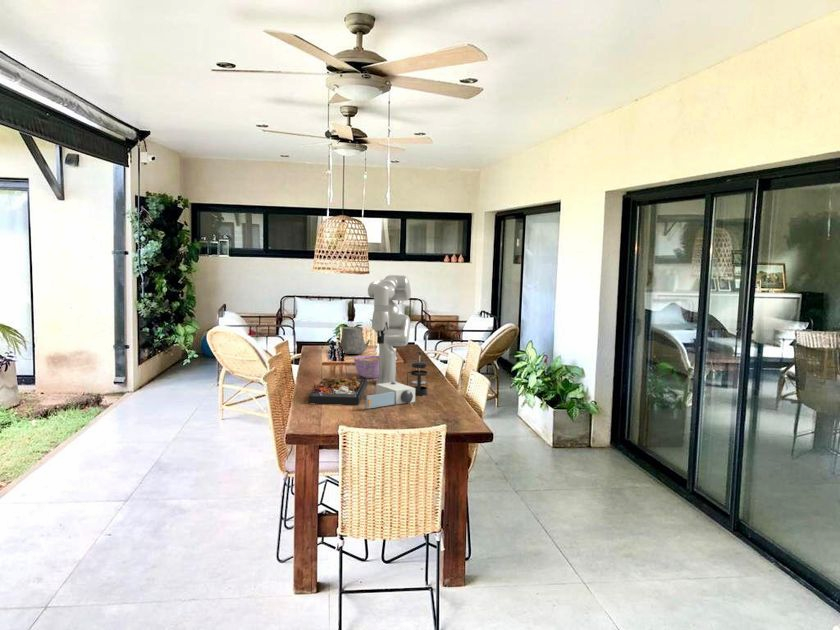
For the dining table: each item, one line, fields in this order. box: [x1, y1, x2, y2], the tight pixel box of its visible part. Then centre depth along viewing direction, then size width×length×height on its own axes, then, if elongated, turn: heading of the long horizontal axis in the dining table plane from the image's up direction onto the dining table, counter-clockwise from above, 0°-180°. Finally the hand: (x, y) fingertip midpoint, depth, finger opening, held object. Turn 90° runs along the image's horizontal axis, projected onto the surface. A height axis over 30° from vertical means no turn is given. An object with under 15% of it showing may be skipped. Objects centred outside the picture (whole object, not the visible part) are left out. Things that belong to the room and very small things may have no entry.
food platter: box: [308, 375, 368, 406], centre depth 332 cm, size 45×25×10 cm, turn 0°
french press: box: [406, 350, 429, 397], centre depth 337 cm, size 12×9×23 cm
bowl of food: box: [353, 355, 379, 379], centre depth 380 cm, size 20×20×12 cm
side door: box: [365, 391, 397, 409], centre depth 306 cm, size 17×2×6 cm, turn 129°
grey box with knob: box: [375, 381, 416, 406], centre depth 323 cm, size 20×12×8 cm, turn 37°
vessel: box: [339, 326, 371, 355], centre depth 462 cm, size 22×22×20 cm
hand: (380, 343), depth 333 cm, fingers closed
